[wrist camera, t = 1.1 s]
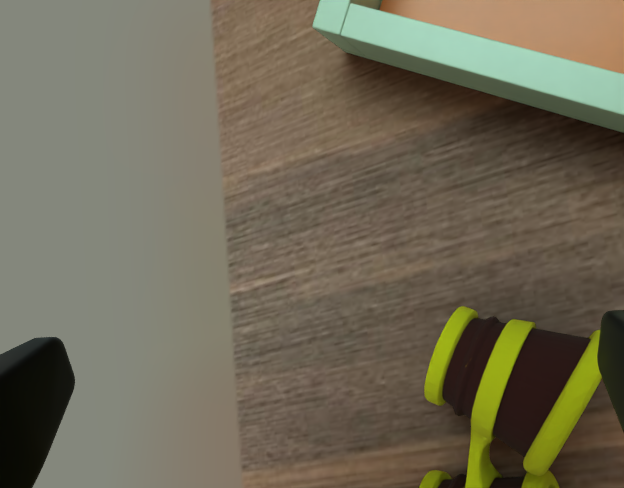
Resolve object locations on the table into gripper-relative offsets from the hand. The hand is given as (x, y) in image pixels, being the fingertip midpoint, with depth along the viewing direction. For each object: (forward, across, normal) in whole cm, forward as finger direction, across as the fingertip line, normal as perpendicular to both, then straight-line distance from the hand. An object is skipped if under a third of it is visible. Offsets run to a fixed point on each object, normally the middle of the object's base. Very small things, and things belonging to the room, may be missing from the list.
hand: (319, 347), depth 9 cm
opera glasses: (+9, -5, +10) cm, 14 cm away
